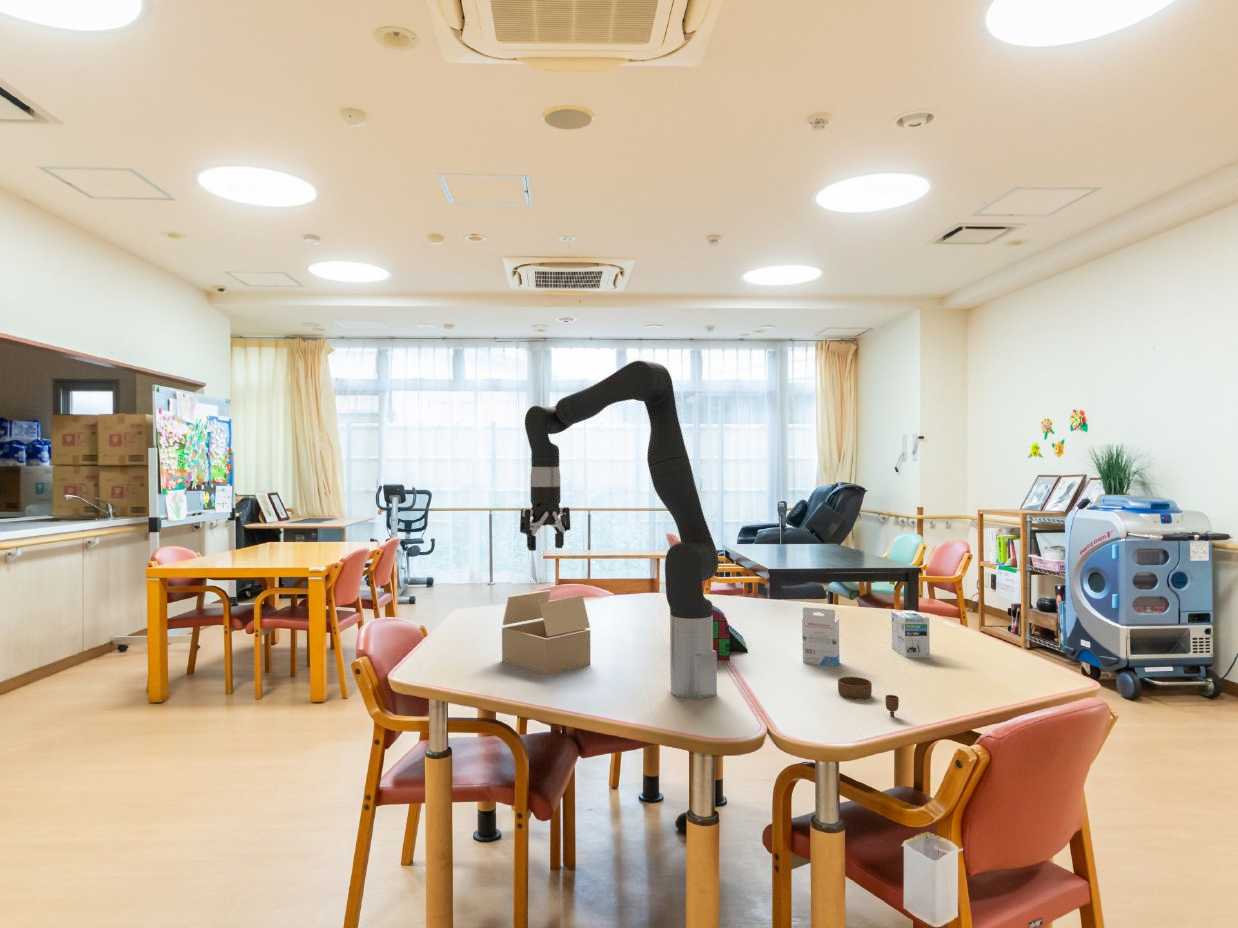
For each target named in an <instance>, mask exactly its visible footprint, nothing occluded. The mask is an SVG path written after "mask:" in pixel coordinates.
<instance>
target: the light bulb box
mask: <svg viewBox="0 0 1238 928" xmlns="http://www.w3.org/2000/svg"><path fill="white" fill-rule="evenodd" d="M890 612H891V649H892V650H893V651H895V652H897V653H898V654H900V655H901V656H902V657H904V658H905V659H907V658H908V659H909V658H910V659H911V658H912V659H917V658H918V659H929V658H931V657H930V656H931V654H930V652H931V651H930V650H931V649H930V618H929V617H928V616H926V615H923V614H921V613H920V612H917V611H916V610H901V609H900V610H897V609H892V610H891V611H890Z"/></svg>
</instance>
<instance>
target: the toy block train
mask: <svg viewBox="0 0 1238 928" xmlns="http://www.w3.org/2000/svg"><path fill="white" fill-rule="evenodd" d="M712 606H713V650H715V651H716V652H717V661H727V662H728V661H731V659H730V655H731V654H730V653H748V651H749V650H748V648H747V647H748V646H747V645H746V641H745V639H744V637H743V635H741V634H740V633H739V632H738V631H737V630H736V629H735V628H733V627H732V625H730V623H729V622H728V619H727V616H726V615H725V613H724V612H723V611H722V610H721V609H720V608H718V607H717V606H715V605H713V604H712Z"/></svg>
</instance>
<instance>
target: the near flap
mask: <svg viewBox="0 0 1238 928" xmlns="http://www.w3.org/2000/svg"><path fill="white" fill-rule="evenodd" d="M585 604H586V603H585V600H584V596H583V595H581V596H579V595H578V596H574V597H568V598H562V599H556V600H550V601H549V600H548V602H543V603H540V606H541V610H542V615H543V618H542V620H544V624H545V628H546V633H547V637H548V636H552V635H557V634H562V633H567V632H571V631H576V630H581V629H590V628H591V625H590V622H589V617H588V613H587V608H586V605H585Z"/></svg>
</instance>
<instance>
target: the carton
mask: <svg viewBox="0 0 1238 928" xmlns="http://www.w3.org/2000/svg"><path fill="white" fill-rule="evenodd" d="M501 657H502V658H501V661H502V662H505V661H507V662H506V663H508V664H511V663H512V665H515V666H518V667H521V668H524V669H528V670H531V671H534V672H538V673H540V674H544V675H550V674H555V673H560V672H563V671H568V670H573V669H577V668H581V667H584V666H585V667H586V666H590V665H591V629H589V628H586V629H581V630H576V631H571V632H567V633H562V634H557V635H552V636H548V637H547V633H546V628H545V624H544V619H541V620H540V619H539V620H536V621H531V622H526V623H520V624H519V623H518V624H515V625H509V626H504V627H501Z"/></svg>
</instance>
